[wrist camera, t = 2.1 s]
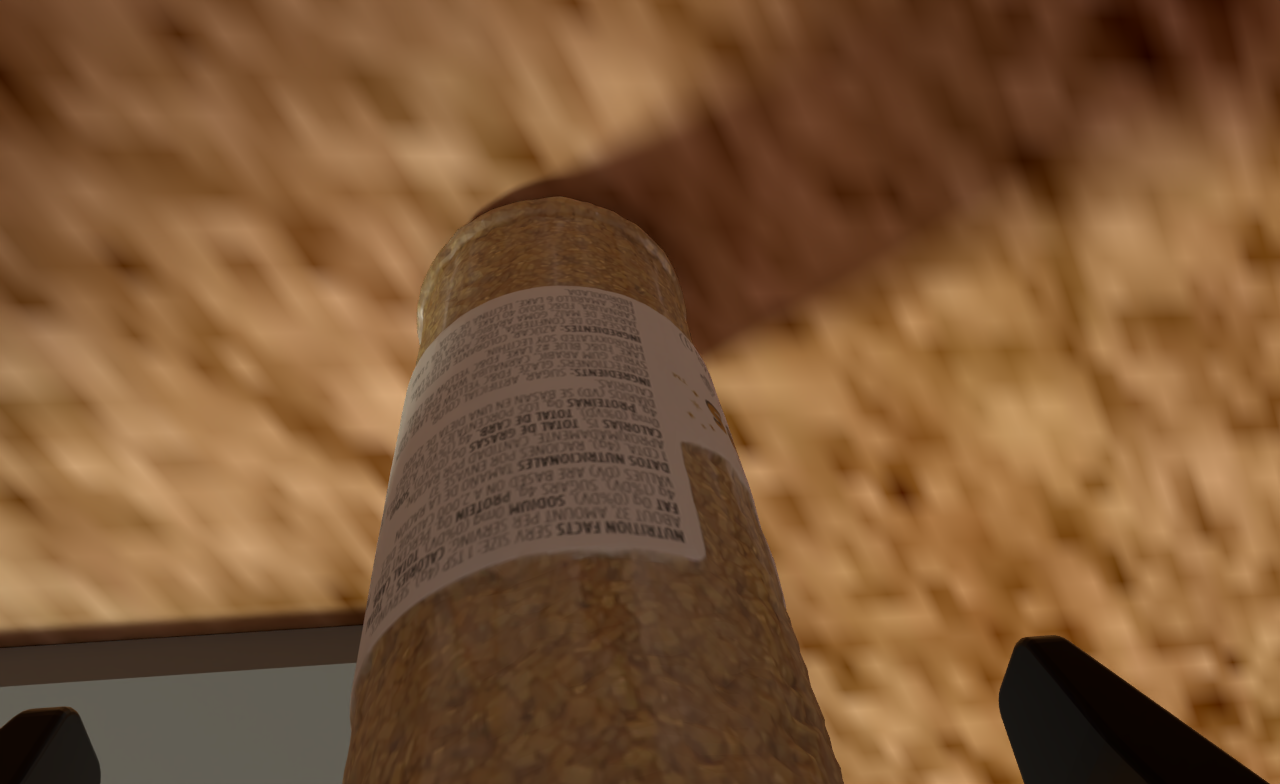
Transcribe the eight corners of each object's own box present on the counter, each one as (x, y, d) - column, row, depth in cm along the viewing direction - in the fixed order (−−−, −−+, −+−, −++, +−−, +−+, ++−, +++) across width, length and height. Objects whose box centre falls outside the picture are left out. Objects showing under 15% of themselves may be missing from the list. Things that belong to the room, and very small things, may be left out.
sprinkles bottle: (683, 413, 17) (1016, 1551, 6) (434, 435, 17) (287, 1701, 6) (682, 174, 15) (1237, 1322, 4) (392, 192, 15) (-12, 1553, 3)
